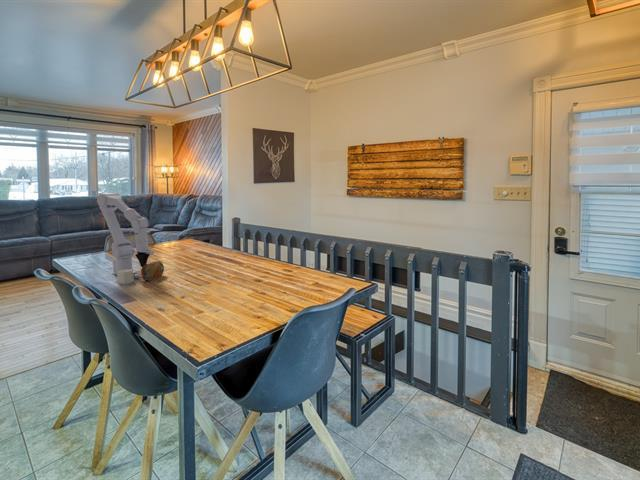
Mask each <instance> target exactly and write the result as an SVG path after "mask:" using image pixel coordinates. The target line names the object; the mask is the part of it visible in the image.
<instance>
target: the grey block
mask: <svg viewBox="0 0 640 480" xmlns="http://www.w3.org/2000/svg"><path fill="white" fill-rule="evenodd" d="M133 271H134V269H133V270H129V269H124V270H120V271H117V275H116V277H117V278H116V279H117V283H118V284H121V285H127V284H131V283H134V282H135V280H134V279H135V278H134V273H133Z"/></svg>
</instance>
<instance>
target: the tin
mask: <svg viewBox="0 0 640 480" xmlns="http://www.w3.org/2000/svg"><path fill="white" fill-rule="evenodd" d="M140 269H141V270H140V274H141V275H140V276H141V278H142V279H143V280H144V281H153V279H154V280H155V279H158V278H161V277H162V276H163V274H164V271H165V267H164V264H163V262H162V261H161V260H158V261H157V260H156V261H152V262H149V263H147V264H146V265H144V266H143V267H141V268H140Z"/></svg>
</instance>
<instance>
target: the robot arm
mask: <svg viewBox="0 0 640 480" xmlns="http://www.w3.org/2000/svg"><path fill="white" fill-rule="evenodd" d="M96 202H97V205H98V207H99V209H100V211H101V213H102V215H103V217H104V220H105V223H106V225H107V228H108V231H109V233H110V234H111V237H112V240H113V242H112V244H111V245H110V248H111V254H112V256H113V257H114V258H113V260H112V268H113V269H112V270H113V272H112V273H111V275H116V276H117V271H120V270H124V269H129V270H133V274H136V273H137V271H134V269H133V268H134V267H133V257H134V254H135V257H136V259H137V261H138V263H139V265H140V268H142V267H143V266H144V265H146V264H148V260H149V257H150V255H154V254H155V250H153V249H150V248H149V239H148V228H149V227H150V220H149V219H148V218H147V217H146V216H141V215H140V214H139V212H137V211H136V209H135V208H130V207H129V206H128V205H127V204H126V203H125V202H124V200H123V198H122V196H121V194H119V192H112V193H111V192H110V193H107V192H106V193H99V194H98V195H97V199H96ZM117 209H118V210H119V211H121V212H122V213H123V216H124V218H125V219H126V220H128V221H129V223H130V225H131V227H132V230H133V231H132V232H133V233H134V239H135V240H134V241H135V246H134V245H133V243H132V242H131V241H130V240H129V239H127V238H126V237H125V235H124V233H123V230H122V229H121V225H120V222H119V221H118V219H117V218H118V217H117V216H116V214H115V211H116V210H117Z"/></svg>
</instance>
